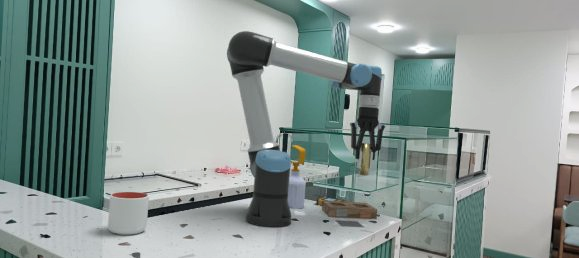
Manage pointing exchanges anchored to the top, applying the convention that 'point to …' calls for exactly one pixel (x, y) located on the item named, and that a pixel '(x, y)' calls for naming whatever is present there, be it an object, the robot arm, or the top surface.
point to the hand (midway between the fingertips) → (364, 168)
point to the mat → (349, 223)
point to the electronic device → (320, 200)
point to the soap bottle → (297, 182)
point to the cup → (128, 212)
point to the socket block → (349, 209)
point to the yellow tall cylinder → (365, 159)
